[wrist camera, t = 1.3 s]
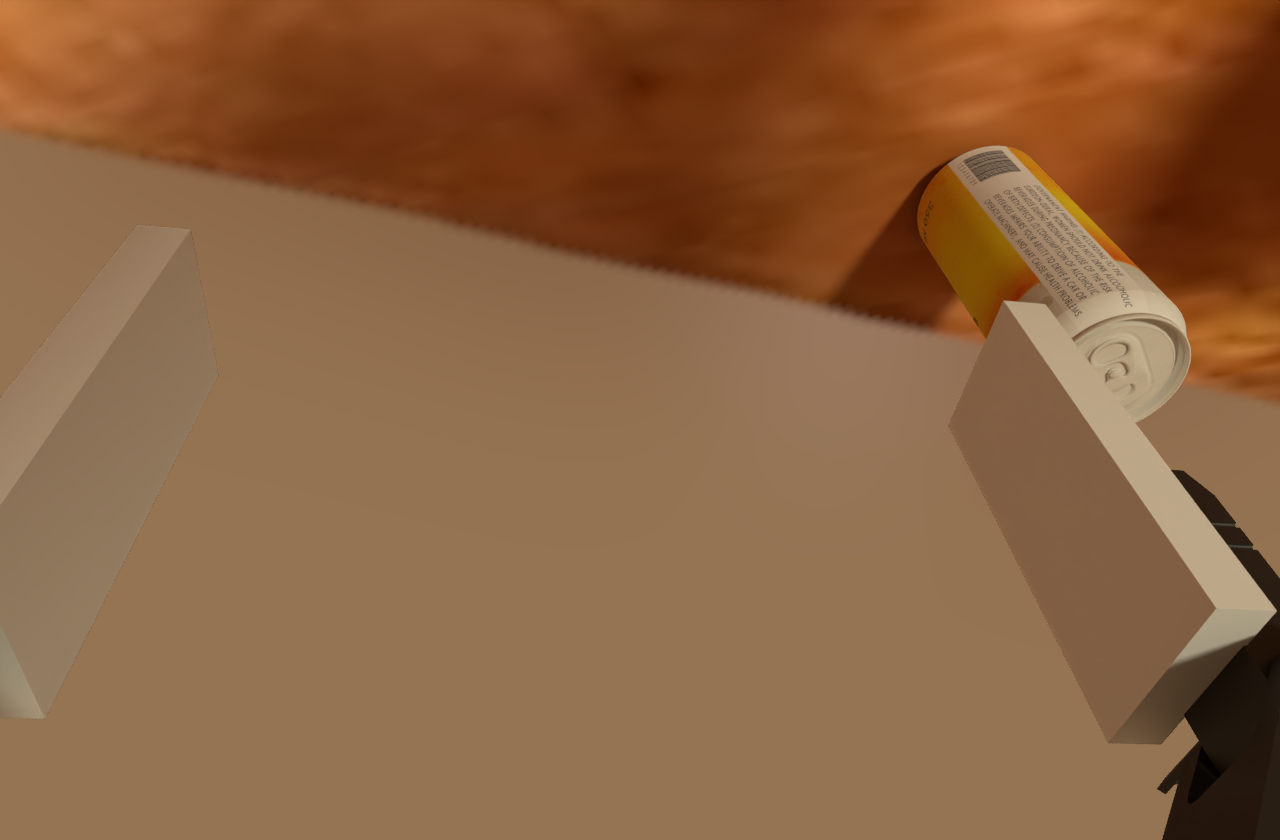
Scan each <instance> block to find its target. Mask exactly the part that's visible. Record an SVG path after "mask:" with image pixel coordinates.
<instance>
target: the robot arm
mask: <svg viewBox="0 0 1280 840" xmlns="http://www.w3.org/2000/svg"><path fill="white" fill-rule="evenodd" d="M218 376H219V374H218V369H217V364H216V359H215V353H214V348H213V343H212V337H211V332H210V327H209V322H208V317H207V312H206V306H205V301H204V295H203V290H202V285H201V280H200V275H199V269H198V264H197V259H196V253H195V248H194V243H193V238H192V232H191V229H185V228H174V227H163V226H151V225H140V224H137V225H136V227H135V228H134V229H133V230H132V232H131V233H130V234H129V235H128V237H127V238H126V239H125V241H124V242H123V243H122V244H121V246H120V247H119V248H118V249H117V251H116V252H115V253H114V254H113V256H112V257H111V258H110V259H109V261H108V262H107V263H106V264H105V266H104V267H103V268H102V270H101V271H100V272H99V273H98V275H97V276H96V277H95V278H94V280H93V281H92V282H91V283H90V285H89V286H88V287H87V288H86V290H85V291H84V292H83V293H82V295H81V296H80V297H79V299H78V300H77V301H76V302H75V304H74V305H73V306H72V307H71V309H70V310H69V311H68V312H67V314H66V315H65V316H64V317H63V319H62V320H61V321H60V322H59V324H58V325H57V326H56V328H55V329H54V330H53V332H52V333H51V334H50V335H49V336H48V338H47V339H46V340H45V341H44V343H43V344H42V345H41V346H40V348H39V349H38V350H37V352H36V353H35V354H34V355H33V357H32V358H31V359H30V360H29V362H28V363H27V364H26V366H25V367H24V368H23V369H22V371H21V372H20V373H19V374H18V376H17V377H16V378H15V379H14V380H13V382H12V383H11V385H10V386H9V387H8V388H7V389H6V391H5V392H4V393H3V394H2V396H1V397H0V718H29V719H30V718H31V719H45V718H46V716H47V714H48V712H49V710H50V708H51V706H52V704H53V702H54V700H55V698H56V696H57V694H58V692H59V690H60V688H61V686H62V684H63V682H64V680H65V678H66V676H67V675H68V673H69V671H70V669H71V667H72V665H73V663H74V661H75V659H76V657H77V654H78V653H79V651H80V649H81V647H82V645H83V643H84V641H85V639H86V637H87V635H88V633H89V631H90V629H91V627H92V625H93V623H94V621H95V619H96V617H97V615H98V613H99V611H100V609H101V607H102V605H103V603H104V601H105V599H106V597H107V595H108V593H109V591H110V589H111V587H112V585H113V583H114V581H115V580H116V577H117V575H118V574H119V572H120V570H121V567H122V566H123V564H124V562H125V559H126V558H127V556H128V554H129V552H130V550H131V548H132V546H133V544H134V542H135V540H136V538H137V536H138V534H139V532H140V530H141V528H142V526H143V524H144V522H145V520H146V518H147V516H148V514H149V512H150V510H151V508H152V506H153V504H154V502H155V500H156V498H157V496H158V494H159V492H160V490H161V488H162V486H163V484H164V482H165V481H166V478H167V477H168V475H169V473H170V471H171V469H172V467H173V465H174V462H175V461H176V458H177V457H178V455H179V453H180V451H181V449H182V447H183V445H184V443H185V441H186V439H187V437H188V435H189V433H190V431H191V429H192V427H193V425H194V423H195V421H196V419H197V417H198V414H199V413H200V411H201V409H202V407H203V405H204V403H205V401H206V399H207V397H208V395H209V393H210V391H211V389H212V387H213V385H214V384H215V382H216V380H217V378H218ZM949 428H950V430H951V432H952V434H953V436H954V438H955V440H956V442H957V444H958V446H959V448H960V450H961V452H962V454H963V456H964V458H965V459H966V461H967V464H968V465H969V467H970V470H971V472H972V474H973V476H974V478H975V480H976V482H977V483H978V485H979V487H980V490H981V492H982V494H983V496H984V497H985V499H986V501H987V503H988V505H989V507H990V509H991V511H992V513H993V515H994V517H995V519H996V521H997V523H998V525H999V527H1000V529H1001V531H1002V533H1003V535H1004V537H1005V539H1006V541H1007V543H1008V545H1009V547H1010V549H1011V551H1012V553H1013V555H1014V557H1015V559H1016V561H1017V563H1018V565H1019V567H1020V569H1021V571H1022V573H1023V575H1024V577H1025V579H1026V581H1027V583H1028V585H1029V587H1030V589H1031V591H1032V593H1033V595H1034V597H1035V599H1036V601H1037V603H1038V605H1039V607H1040V609H1041V611H1042V613H1043V615H1044V617H1045V619H1046V620H1047V622H1048V625H1049V627H1050V629H1051V631H1052V633H1053V635H1054V637H1055V639H1056V641H1057V643H1058V644H1059V647H1060V648H1061V651H1062V653H1063V655H1064V657H1065V658H1066V660H1067V662H1068V665H1069V666H1070V668H1071V670H1072V672H1073V674H1074V676H1075V678H1076V680H1077V682H1078V684H1079V686H1080V688H1081V690H1082V692H1083V694H1084V696H1085V698H1086V700H1087V702H1088V704H1089V706H1090V708H1091V710H1092V712H1093V714H1094V716H1095V718H1096V720H1097V722H1098V724H1099V726H1100V728H1101V730H1102V732H1103V734H1104V736H1105V738H1106V740H1107V742H1108V743H1125V744H1162V743H1163V742H1164V740H1165V739H1166V738H1167V737H1168V736H1169V735H1170V734H1171V732H1172V731H1173V730H1174V729H1175V728H1176V727H1177V725H1178V724H1179V723H1180V722H1181V721H1182V720H1183V719H1184V717H1185V718H1186V720H1187V721H1188V723H1189V725H1190V726H1191V728H1192V730H1193V732H1194V733H1195V735H1196V737H1197V738H1198V740H1199V741H1198V742H1197V744H1196V745H1195V746H1194V747H1193V748H1192V749H1191V750H1190V751H1189V752H1188V754H1186V756H1185V757H1184V758H1183V759H1182V760H1181V761H1180V762H1179V763H1178V765H1176V767H1175V768H1174V769H1173V770H1172V771H1171V772H1170V773H1169V774H1168V775H1167V777H1166V778H1165V779H1164V780H1163V781H1162V783H1161V784H1160V786H1159V787H1158V788H1157V789H1158V790H1160V791H1161V792H1163V793H1165V794H1166V793H1167V792H1168V791H1169V790H1170V789H1171V788H1172V786H1173V785H1175V784H1178V786H1177V789H1176V793H1175V797H1174V800H1173V803H1172V807H1171V810H1170V814H1169V817H1168V821H1167V825H1166V828H1165V831H1164V835H1163V839H1162V840H1280V578H1279V577H1278V576H1277V575H1276V573H1275V572H1274V571H1273V569H1272V568H1271V567H1270V565H1269V564H1268V563H1267V562H1266V560H1265V559H1264V558H1263V557H1262V555H1261V554H1260V553H1259V551H1257V550H1253V548H1252V546H1253V544H1252V543H1251V541H1250V540H1249V539H1248V537H1247V536H1246V535H1245V534H1244V532H1243V531H1242V530H1241V529H1240V528H1236V527H1235V523H1236V522H1235V521H1234V520H1233V518H1232V517H1231V516H1230V515H1229V513H1228V512H1227V511H1226V509H1225V508H1224V507H1223V506H1222V504H1221V503H1220V502H1219V500H1218V499H1217V498H1216V497H1215V495H1213V494H1212V493H1211V492H1209V491H1208V490H1207V489H1206V488H1204V487H1203V486H1202V485H1201V484H1199V483H1198V482H1197V481H1196V480H1194V479H1193V478H1192V477H1190V476H1189V475H1188V474H1187V473H1185V472H1184V471H1180V470H1170V469H1169V467H1168V466H1167V465H1166V464H1165V462H1164V461H1163V459H1162V458H1161V457H1160V455H1159V454H1158V453H1157V451H1156V450H1155V449H1154V447H1153V446H1152V445H1151V443H1150V442H1149V441H1148V439H1147V438H1146V437H1145V435H1144V434H1143V433H1142V431H1141V430H1140V429H1139V427H1138V426H1137V425H1136V424H1135V422H1134V421H1133V419H1132V418H1131V417H1130V416H1129V414H1128V413H1127V412H1126V410H1125V409H1124V408H1123V406H1122V405H1121V404H1120V402H1119V401H1118V400H1117V398H1116V397H1115V396H1114V394H1113V393H1112V392H1111V390H1110V389H1109V388H1108V386H1107V385H1106V384H1105V382H1104V381H1103V380H1102V378H1101V377H1100V376H1099V374H1098V373H1097V372H1096V370H1095V369H1094V368H1093V367H1092V365H1091V364H1090V363H1089V361H1088V360H1087V359H1086V357H1085V356H1084V355H1083V353H1082V352H1081V351H1080V349H1079V348H1078V347H1077V345H1076V344H1075V343H1074V341H1073V340H1072V339H1071V337H1070V336H1069V335H1068V333H1067V332H1066V331H1065V329H1064V328H1063V327H1062V325H1061V324H1060V323H1059V321H1058V320H1057V319H1056V318H1055V316H1054V315H1053V314H1052V312H1051V311H1050V310H1049V308H1048V307H1047V306H1046V304H1038V303H1027V302H1015V301H1004V300H1003V302H1002V305H1001V307H1000V309H999V312H998V314H997V316H996V318H995V321H994V323H993V325H992V327H991V330H990V332H989V334H988V336H987V339H986V341H985V343H984V346H983V348H982V350H981V352H980V355H979V357H978V359H977V362H976V364H975V366H974V369H973V371H972V373H971V375H970V377H969V380H968V382H967V384H966V386H965V389H964V391H963V394H962V396H961V398H960V400H959V402H958V405H957V407H956V409H955V411H954V414H953V416H952V418H951V421H950V423H949Z"/></svg>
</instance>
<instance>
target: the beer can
mask: <svg viewBox="0 0 1280 840" xmlns="http://www.w3.org/2000/svg"><path fill="white" fill-rule="evenodd" d="M917 223H918V229H919V233H920V236H921V238H922V240H923V242H924V243H925V245H926V246H927V248H928V250H929V251H930V253H931V254H932V256H933V257H934V259H935V260H936V262H937V264H938V265H939V267H940V268H941V270H942V271H943V273H944V274H945V276H946V278H947V279H948V281H949V282H950V284H951V285H952V287H953V289H954V290H955V292H956V293H957V295H958V296H959V298H960V299H961V301H962V303H963V304H964V306H965V307H966V309H967V310H968V312H969V313H970V315H971V317H972V318H973V320H974V321H975V323H976V324H977V326H978V328H979V329H980V331H981V332H982V334H983V335H984V337H985V338H986V339H987V336H988V334H989V332H990V330H991V327H992V325H993V323H994V321H995V318H996V316H997V314H998V312H999V309H1000V307H1001V305H1002V302H1003V300H1004V301H1015V302H1027V303H1038V304H1046V306H1047V307H1048V308H1049V310H1050V311H1051V312H1052V314H1053V315H1054V316H1055V318H1056V319H1057V320H1058V321H1059V323H1060V324H1061V325H1062V327H1063V328H1064V329H1065V331H1066V332H1067V333H1068V335H1069V336H1070V337H1071V339H1072V340H1073V341H1074V343H1075V344H1076V345H1077V347H1078V348H1079V349H1080V351H1081V352H1082V353H1083V355H1084V356H1085V357H1086V359H1087V360H1088V361H1089V363H1090V364H1091V365H1092V367H1093V368H1094V369H1095V370H1096V372H1097V373H1098V374H1099V376H1100V377H1101V378H1102V380H1103V381H1104V382H1105V384H1106V385H1107V386H1108V388H1109V389H1110V390H1111V392H1112V393H1113V394H1114V396H1115V397H1116V398H1117V400H1118V401H1119V402H1120V404H1121V405H1122V406H1123V408H1124V409H1125V410H1126V412H1127V413H1128V414H1129V416H1130V417H1131V418H1132V419H1133V421H1134V422H1135V423H1136V422H1138V421H1140V420H1142V419H1143V418H1145V417H1147V416H1149V415H1150V414H1152V413H1153V412H1155V411H1156V410H1157V409H1159V408H1160V407H1161V406H1162V405H1163V404H1164V403H1166V402H1167V401H1168V400H1169V399H1170V398H1171V397H1172V395H1173V394H1174V393H1175V392H1176V391H1177V389H1178V388H1179V387H1180V385H1181V384H1182V382H1183V380H1184V378H1185V376H1186V374H1187V372H1188V369H1189V366H1190V361H1191V348H1190V343H1189V341H1188V338H1187V335H1186V325H1185V320H1184V318H1183V316H1182V313H1181V312H1180V310H1179V309H1178V308H1177V307H1176V305H1175V304H1174V303H1173V302H1172V301H1171V300H1170V299H1169V298H1168V297H1167V296H1166V295H1165V294H1164V293H1163V292H1162V291H1161V290H1160V289H1159V288H1158V287H1157V286H1156V285H1155V284H1154V283H1153V282H1152V281H1151V280H1150V279H1149V278H1148V277H1147V276H1146V275H1145V274H1144V273H1143V272H1142V271H1141V270H1140V269H1139V268H1138V267H1137V266H1136V265H1135V264H1134V263H1133V262H1132V261H1131V260H1130V259H1129V258H1128V257H1127V256H1126V254H1125V253H1124V252H1123V251H1122V250H1121V249H1120V248H1119V247H1118V246H1117V245H1116V244H1115V243H1114V242H1113V241H1112V240H1111V239H1110V238H1109V237H1108V236H1107V235H1106V234H1105V233H1104V232H1103V231H1102V230H1101V229H1100V228H1099V227H1098V226H1097V225H1096V224H1095V223H1094V222H1093V221H1092V220H1091V219H1090V218H1089V217H1088V216H1087V215H1086V214H1085V213H1084V212H1083V211H1082V210H1081V209H1080V208H1079V207H1078V206H1077V205H1076V204H1075V203H1074V202H1073V201H1072V199H1071V198H1070V197H1069V196H1068V195H1067V194H1066V193H1065V192H1064V191H1063V190H1062V189H1061V188H1060V187H1059V186H1058V185H1057V184H1056V183H1055V182H1054V181H1053V180H1052V179H1051V178H1050V177H1049V176H1048V175H1047V174H1046V173H1045V172H1044V171H1043V170H1042V169H1041V168H1040V167H1039V166H1038V165H1037V164H1036V163H1035V162H1034V161H1033V160H1032V159H1031V158H1030V157H1029V156H1028V155H1026V154H1025V153H1023V152H1021V151H1020V150H1017V149H1014V148H1011V147H1006V146H987V147H982V148H978V149H974V150H972V151H969V152H966V153H964V154H962V155H960V156H959V157H957V158H955V159H954V160H952V161H951V162H949V163H948V164H947V165H946V166H944V167H943V168H942V169H941V170H940V171H939V172H938V173H937V174H936V175H935V176H934V178H933V179H932V180H931V181H930V183H929V184H928V186H927V188H926V189H925V191H924V193H923V195H922V198H921V201H920V204H919V208H918V214H917Z"/></svg>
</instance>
